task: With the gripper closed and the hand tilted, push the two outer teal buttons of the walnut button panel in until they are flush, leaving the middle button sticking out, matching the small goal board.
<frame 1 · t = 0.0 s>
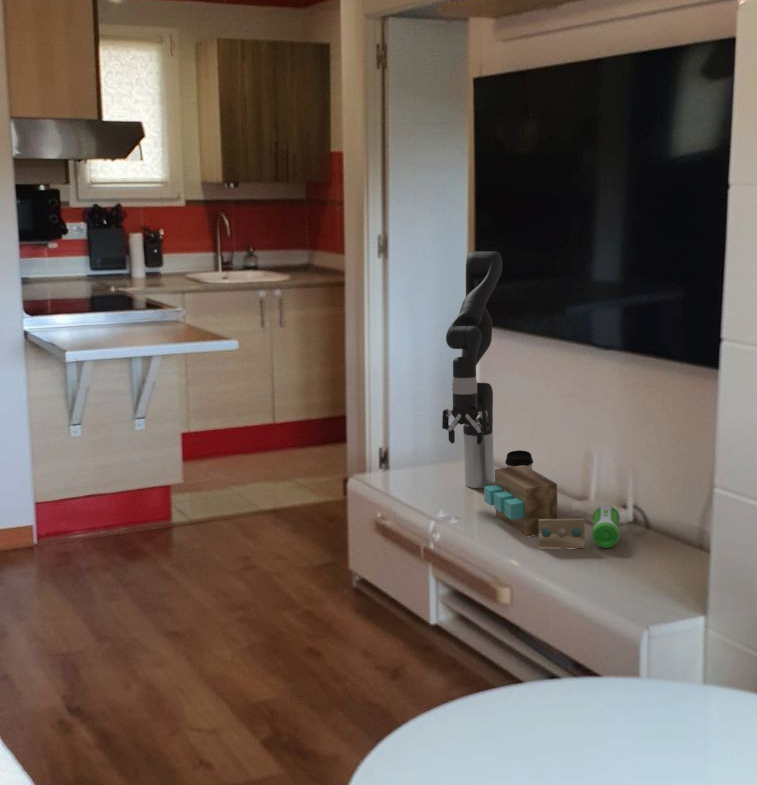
hand: (465, 443, 357), 17 cm above the table, tool pointing down, fingers open, 8 cm apart
button 2: (517, 508, 325), point 8 cm above the table, slide at 0.0 cm
goal board: (561, 547, 314), on the table
coffee cup: (520, 502, 354), on the table
button 1: (496, 494, 338), point 8 cm above the table, slide at 0.0 cm
button middle: (507, 501, 331), point 8 cm above the table, slide at 0.0 cm
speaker: (606, 539, 319), on the table
button panel: (498, 527, 332), on the table
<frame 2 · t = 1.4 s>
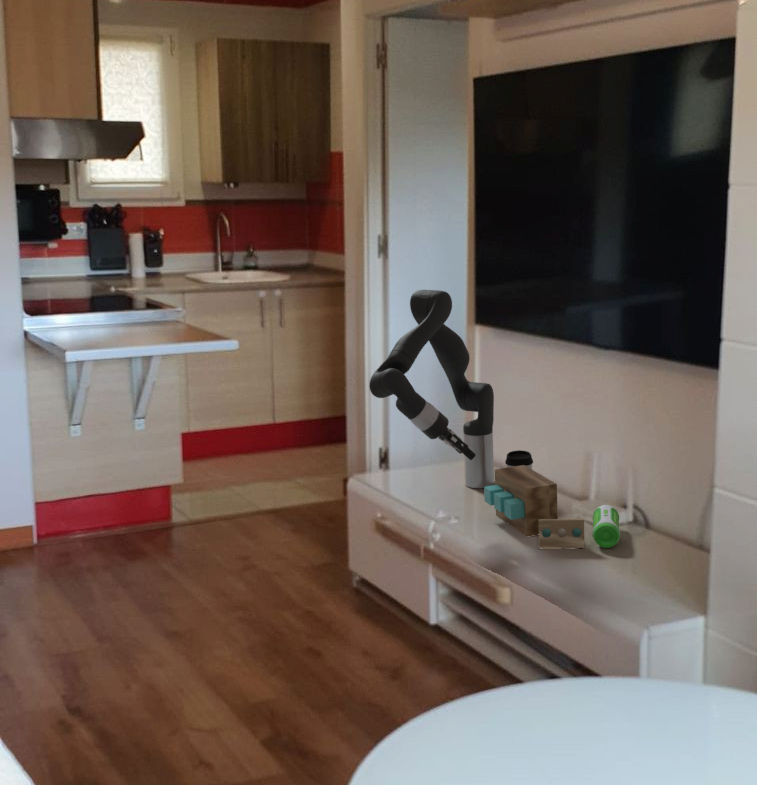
hand: (467, 454, 332), 21 cm above the table, tool tilted 45°, fingers open, 7 cm apart
nothing on the table moved.
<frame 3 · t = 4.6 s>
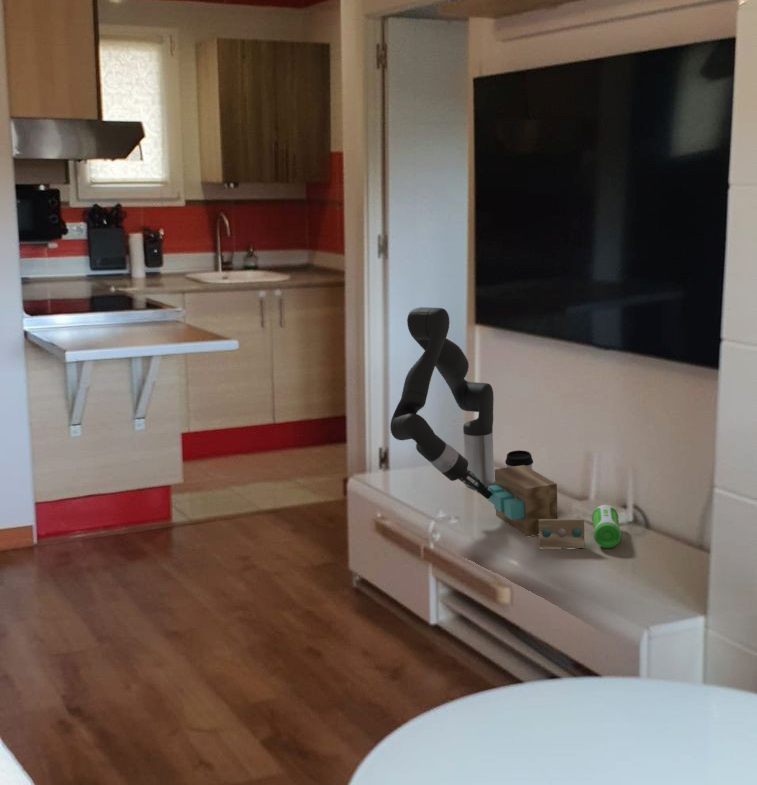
hand: (489, 496, 337), 7 cm above the table, tool tilted 45°, fingers closed
button 1: (500, 493, 338), point 8 cm above the table, slide at 1.2 cm, touching gripper
everything else where it was.
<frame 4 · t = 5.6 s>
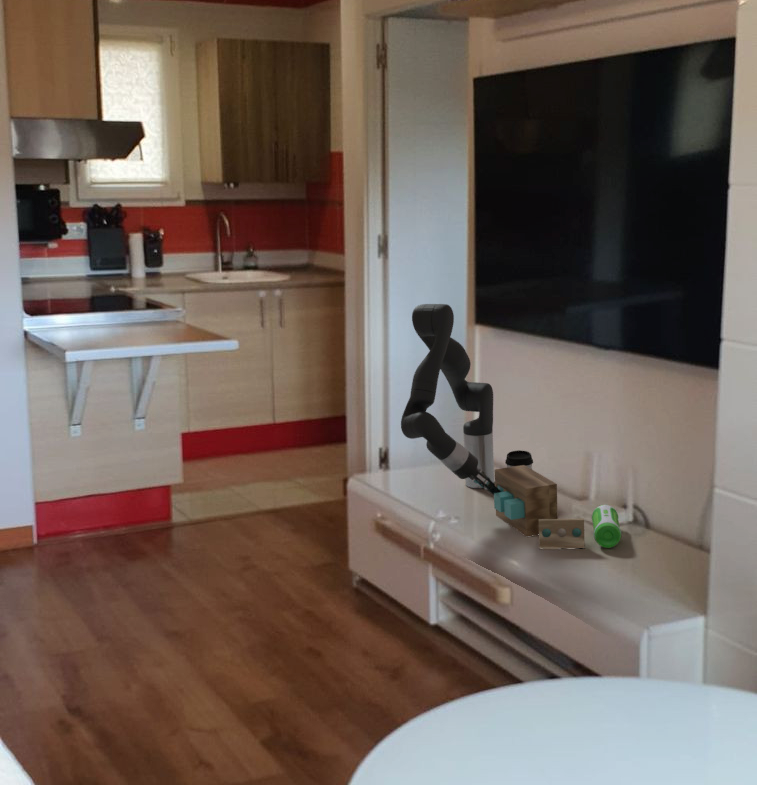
hand: (498, 494, 338), 7 cm above the table, tool tilted 45°, fingers closed
button 1: (510, 492, 339), point 8 cm above the table, slide at 4.2 cm, touching gripper
everything else where it was.
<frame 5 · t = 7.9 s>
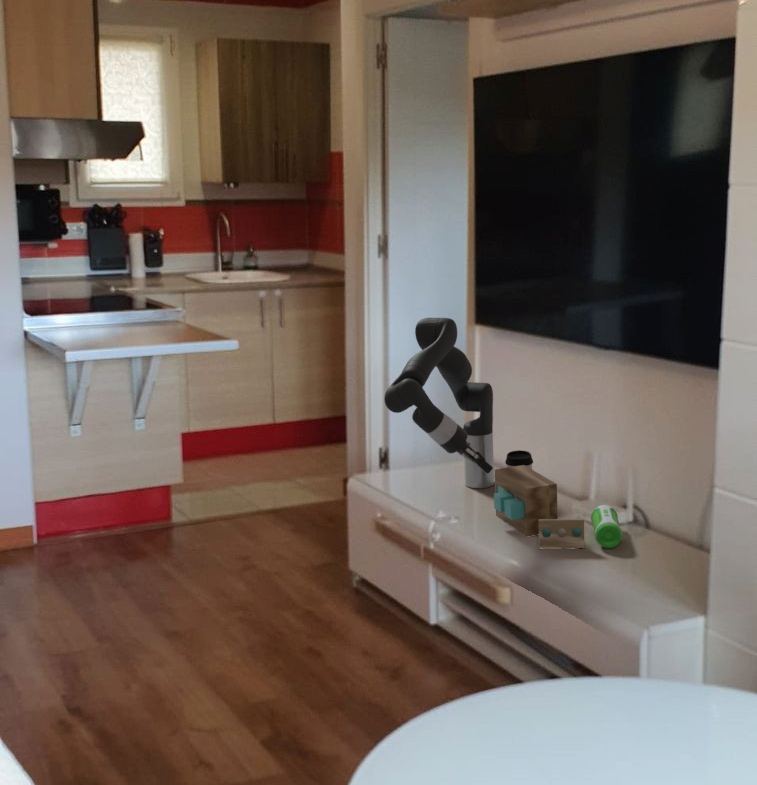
hand: (489, 470, 320), 20 cm above the table, tool tilted 45°, fingers closed
button 1: (510, 492, 339), point 8 cm above the table, slide at 4.2 cm
everything else where it was.
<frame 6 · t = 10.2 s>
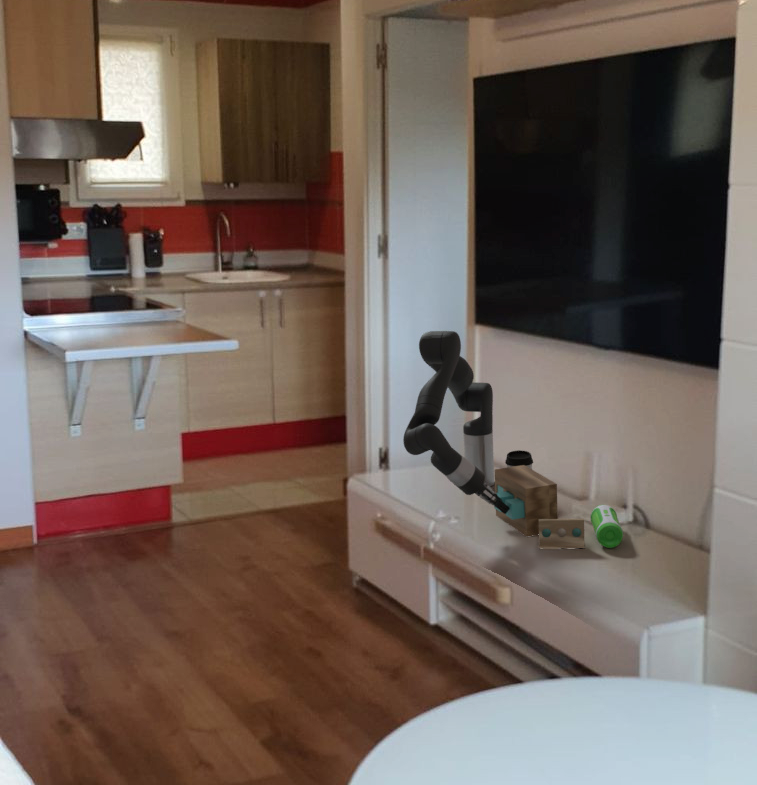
hand: (506, 510, 324), 7 cm above the table, tool tilted 45°, fingers closed
button 2: (518, 508, 325), point 7 cm above the table, slide at 0.3 cm, touching gripper
everything else where it was.
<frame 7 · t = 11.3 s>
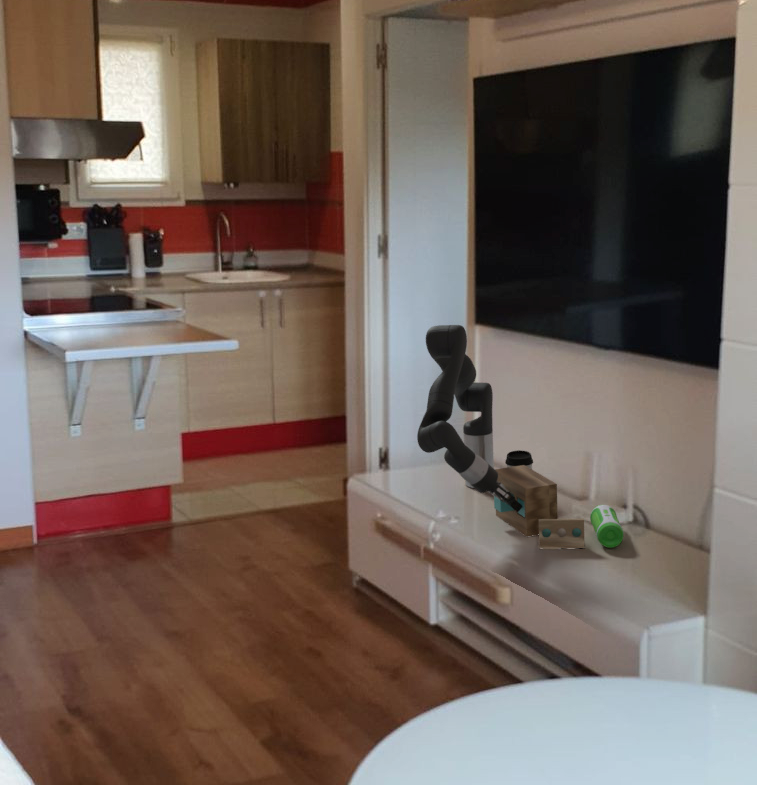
hand: (519, 508, 325), 7 cm above the table, tool tilted 45°, fingers closed
button 2: (531, 506, 326), point 8 cm above the table, slide at 4.1 cm, touching gripper
everything else where it was.
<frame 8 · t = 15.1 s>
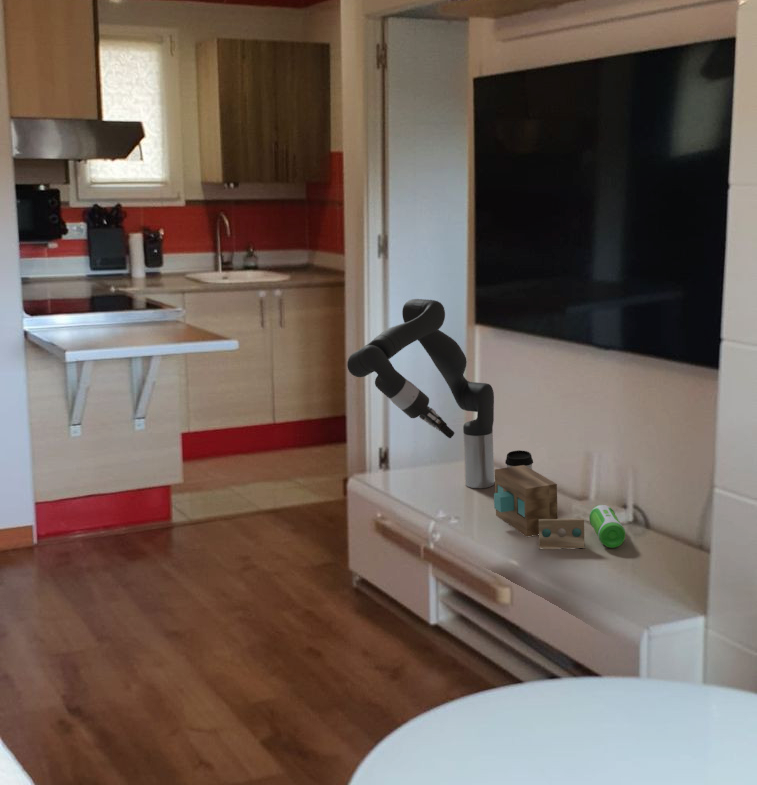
hand: (451, 435, 327), 28 cm above the table, tool tilted 45°, fingers closed
button 2: (531, 506, 326), point 8 cm above the table, slide at 4.1 cm
everything else where it was.
at the end: button 1 slide at 4.2 cm; button 2 slide at 4.1 cm; button middle slide at 0.0 cm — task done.
